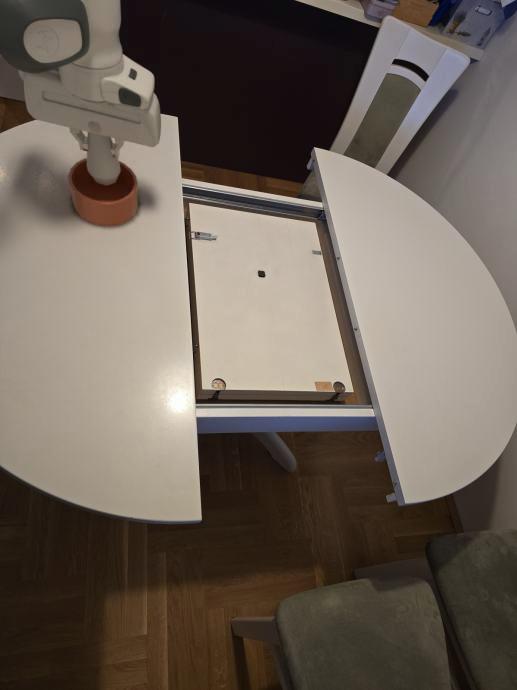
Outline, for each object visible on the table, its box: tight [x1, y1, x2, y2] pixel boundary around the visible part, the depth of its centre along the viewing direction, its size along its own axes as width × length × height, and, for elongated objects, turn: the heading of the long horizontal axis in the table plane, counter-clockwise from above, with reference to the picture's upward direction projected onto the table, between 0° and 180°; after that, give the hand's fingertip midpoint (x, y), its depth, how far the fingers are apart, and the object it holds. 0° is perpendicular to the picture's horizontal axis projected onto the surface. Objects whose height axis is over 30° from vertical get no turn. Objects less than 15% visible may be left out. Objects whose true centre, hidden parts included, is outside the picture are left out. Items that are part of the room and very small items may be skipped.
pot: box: [67, 157, 139, 227], centre depth 77 cm, size 12×12×6 cm
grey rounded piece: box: [86, 121, 120, 186], centre depth 68 cm, size 6×6×13 cm
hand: (100, 152), depth 69 cm, fingers closed on grey rounded piece, 3 cm apart
